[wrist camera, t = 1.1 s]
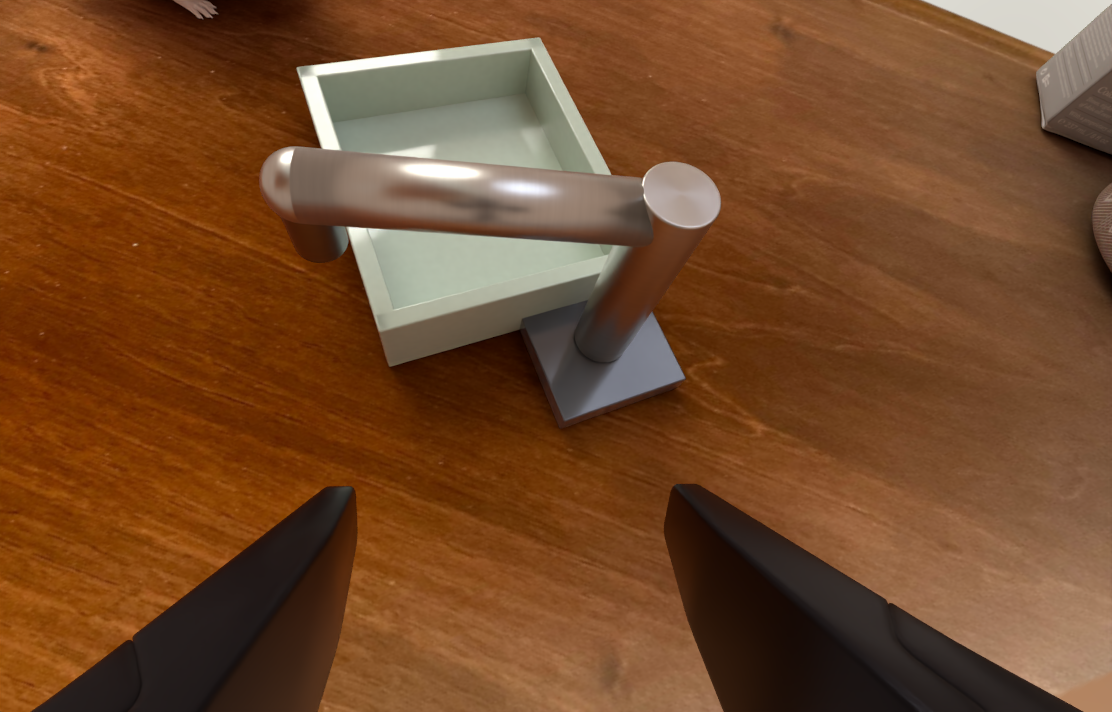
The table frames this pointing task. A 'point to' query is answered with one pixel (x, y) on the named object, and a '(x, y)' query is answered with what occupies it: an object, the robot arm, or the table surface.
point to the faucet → (506, 218)
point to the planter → (1103, 224)
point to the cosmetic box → (1081, 86)
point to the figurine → (198, 7)
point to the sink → (477, 261)
